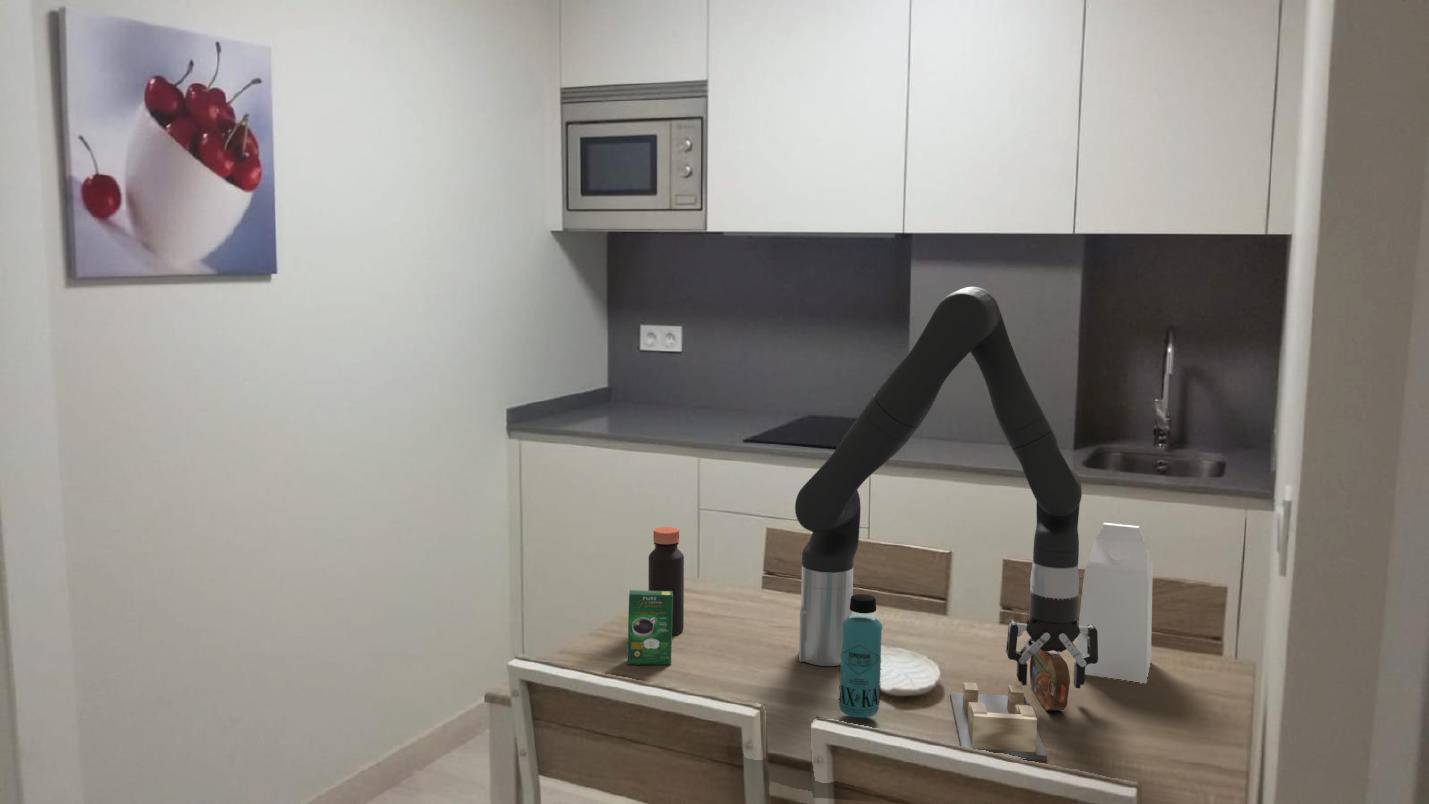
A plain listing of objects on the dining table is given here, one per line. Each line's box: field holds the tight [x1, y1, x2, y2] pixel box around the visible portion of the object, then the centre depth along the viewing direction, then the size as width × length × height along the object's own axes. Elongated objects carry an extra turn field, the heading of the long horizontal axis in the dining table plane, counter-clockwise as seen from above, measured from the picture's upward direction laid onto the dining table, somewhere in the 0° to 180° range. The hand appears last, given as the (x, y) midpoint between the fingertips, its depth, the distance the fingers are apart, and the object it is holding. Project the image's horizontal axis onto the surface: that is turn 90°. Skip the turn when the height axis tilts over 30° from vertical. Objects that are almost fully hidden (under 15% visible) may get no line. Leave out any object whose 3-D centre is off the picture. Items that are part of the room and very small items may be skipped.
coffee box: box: [627, 589, 673, 666], centre depth 198 cm, size 8×3×13 cm, turn 92°
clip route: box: [949, 681, 1048, 762], centre depth 173 cm, size 12×22×6 cm, turn 173°
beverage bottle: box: [837, 593, 883, 718], centre depth 175 cm, size 6×7×20 cm
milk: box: [1074, 522, 1154, 685], centre depth 197 cm, size 12×12×26 cm
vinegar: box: [648, 526, 685, 637], centre depth 215 cm, size 7×7×20 cm
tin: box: [1029, 649, 1071, 712], centre depth 183 cm, size 15×3×8 cm, turn 178°
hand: (1050, 685), depth 183 cm, fingers open, 8 cm apart
